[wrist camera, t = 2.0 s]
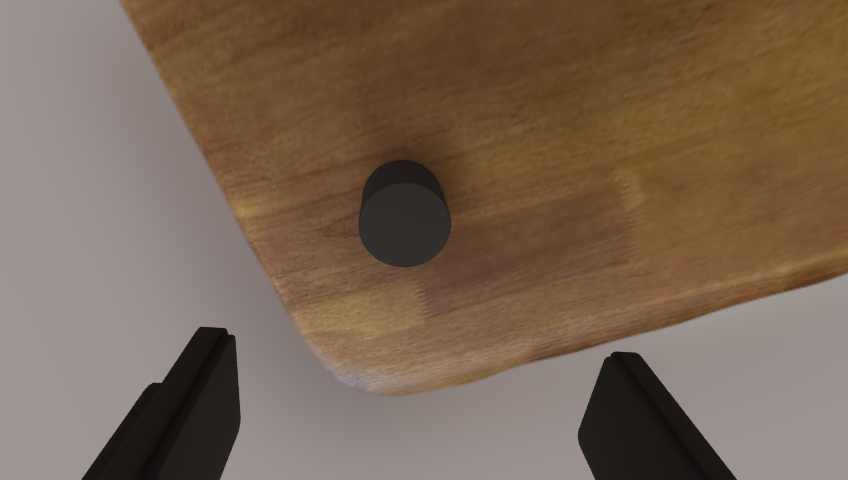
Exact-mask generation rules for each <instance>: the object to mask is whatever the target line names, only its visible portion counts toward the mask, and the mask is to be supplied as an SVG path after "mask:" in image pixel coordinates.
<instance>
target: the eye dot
mask: <svg viewBox="0 0 848 480" xmlns="http://www.w3.org/2000/svg"><path fill="white" fill-rule="evenodd" d="M450 228H451V219H450V214H449V211H448V208H447V205H446V202H445V199H444V197H443V194H442V191H441V188H440V185H439V183H438V181H437V179H436V178H435V176H434V175H433V174H432V173H431V172H430V171H429V170H428V169H427V168H425V167H424V166H422V165H420V164H418V163H415V162H412V161H403V160H401V161H393V162H390V163H387V164H385V165H383V166H381V167H379V168H378V169H376V170H375V171H374V172H373V173H372V174H371V176H370V177H369V178H368V180H367V182H366V184H365V186H364V190H363V196H362V203H361V210H360V217H359V234H360V237H361V240H362V242H363V244H364V246H365V247H366V249H367V250H368V251H369V252H370V253H371V254H372V255H373V256H374V257H375V258H377V259H378V260H380V261H382V262H383V263H386V264H388V265H392V266H397V267H412V266H416V265H420V264H423V263H425V262H427V261H429V260H430V259H432V258H433V257H434V256H436V255H437V254H438V253H439V252H440V251H441V250H442V248H443V247H444V245H445V244H446V242H447V240H448V237H449V234H450Z"/></svg>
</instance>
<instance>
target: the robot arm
mask: <svg viewBox="0 0 848 480" xmlns="http://www.w3.org/2000/svg"><path fill="white" fill-rule="evenodd" d="M240 417H241V416H240V402H239V386H238V371H237V356H236V341H235V336H234V335H228V331H227V329H225V328H213V327H200V328H198V330H197V331H196V332H195V334H194V335H193V337H192V338H191V340H190V342H189V343H188V344H187V346H186V347H185V349H184V350H183V352H182V353H181V355H180V356H179V358H178V360H177V361H176V362H175V364H174V366H173V367H172V368H171V370H170V371H169V373H168V374H167V376H166V377H165V379H164V380H163V382H162V383H152V384H151V385H149V386H148V387H147V388H146V389H145V390H144V391H143V393H142V395H141V396H140V397H139V399H138V400H137V401H136V403H135V404H134V406H133V407H132V409H131V410H130V412H129V413H128V415H127V416H126V417H125V419H124V420H123V421H122V423H121V424H120V426H119V427H118V428H117V430H116V431H115V433H114V434H113V436H112V437H111V438H110V440H109V441H108V443H107V444H106V446H105V447H104V448H103V450H102V451H101V453H100V454H99V455H98V457H97V458H96V460H95V461H94V463H93V464H92V465H91V467H90V468H89V470H88V471H87V473H86V474H85V475H84V477H83V478H82V480H220V478H221V475H222V473H223V470H224V468H225V465H226V462H227V460H228V457H229V455H230V452H231V450H232V446H233V445H234V442H235V440H236V437H237V434H238V431H239V427H240ZM578 441H579V445H580V447H581V449H582V451H583V454H584V456H585V458H586V460H587V462H588V465H589V467H590V469H591V471H592V473H593V476H594V478H595V480H737V479H736V478H735V477H734V475H733V474H732V473H731V471H730V470H729V469H728V468H727V466H726V465H725V464H724V462H723V461H722V460H721V459H720V457H719V456H718V455H717V454H716V452H715V451H714V450H713V448H712V447H711V446H710V444H709V443H708V442H707V441H706V439H705V438H704V437H703V435H702V434H701V433H700V432H699V430H698V429H697V428H696V427H695V425H694V424H693V423H692V421H691V420H690V419H689V417H688V416H687V415H686V414H685V412H684V411H683V410H682V408H681V407H680V406H679V404H678V403H677V402H676V401H675V399H674V398H673V397H672V395H671V394H670V393H669V392H668V390H666V388H665V387H664V385H663V384H662V383H661V382H660V380H659V379H658V377H657V376H656V375H655V374H654V372H653V371H652V370H651V368H650V367H649V366H648V365H647V364H646V362H645V361H644V359H643V358H642V357H641V356H640V355H639V354H637V353H632V352H613V353H612V354H611V356H610V357H607V358H605V360H604V362H603V365H602V368H601V371H600V373H599V376H598V379H597V381H596V384H595V387H594V390H593V392H592V395H591V398H590V401H589V403H588V406H587V409H586V411H585V414H584V417H583V420H582V423H581V425H580V428H579V431H578Z"/></svg>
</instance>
